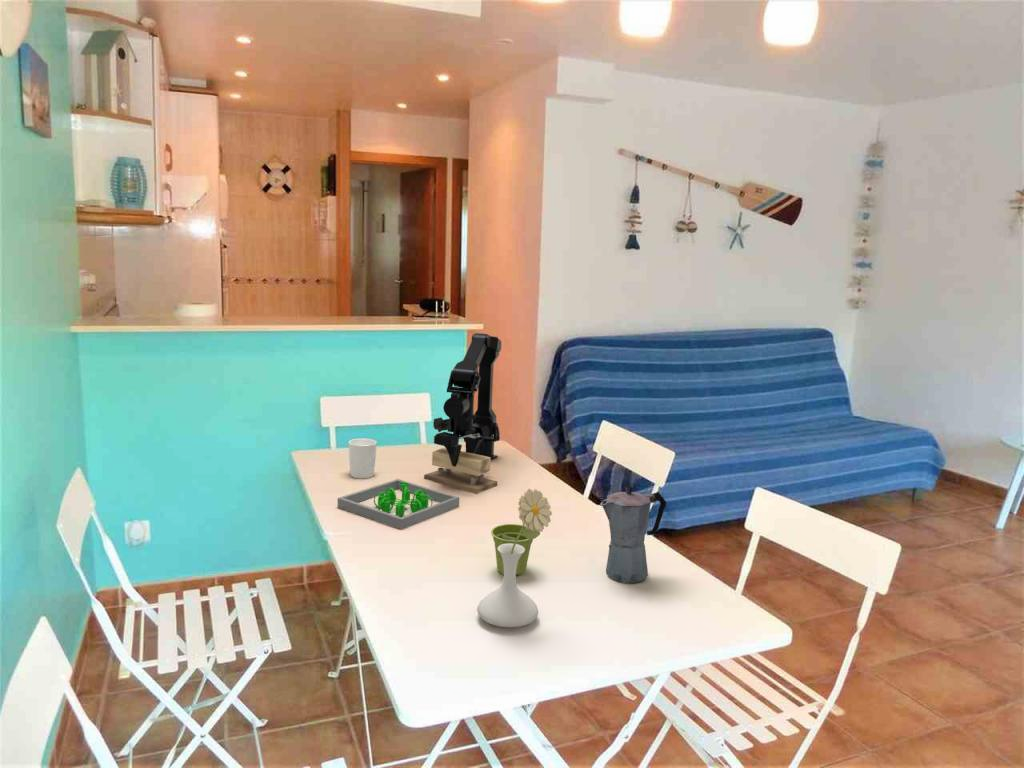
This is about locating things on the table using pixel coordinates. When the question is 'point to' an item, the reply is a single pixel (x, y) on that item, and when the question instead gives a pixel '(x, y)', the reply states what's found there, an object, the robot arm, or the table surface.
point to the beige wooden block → (462, 462)
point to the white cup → (362, 457)
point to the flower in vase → (508, 599)
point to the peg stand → (461, 480)
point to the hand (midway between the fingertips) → (461, 463)
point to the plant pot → (511, 531)
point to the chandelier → (390, 497)
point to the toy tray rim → (353, 506)
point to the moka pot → (629, 533)
